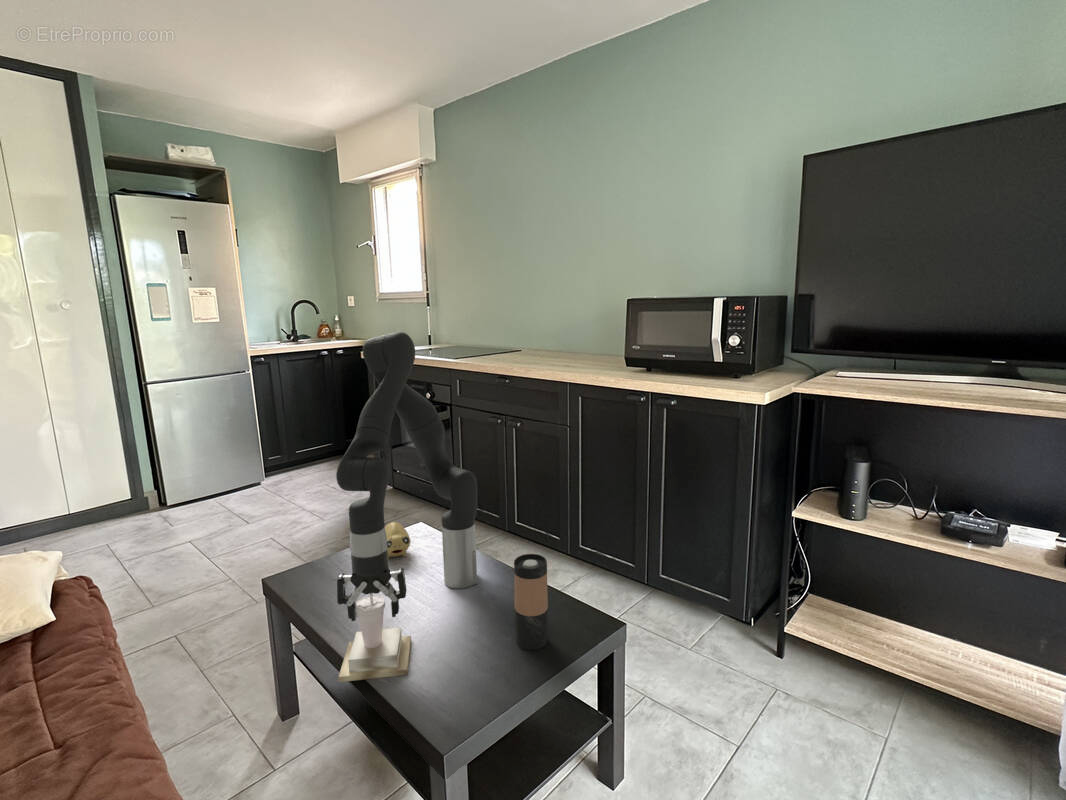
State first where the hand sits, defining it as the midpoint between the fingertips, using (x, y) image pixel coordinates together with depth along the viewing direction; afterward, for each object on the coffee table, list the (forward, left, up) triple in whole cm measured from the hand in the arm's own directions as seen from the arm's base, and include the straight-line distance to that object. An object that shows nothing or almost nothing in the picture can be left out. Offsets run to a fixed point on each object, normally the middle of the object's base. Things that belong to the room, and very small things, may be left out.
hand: (374, 617), depth 117 cm
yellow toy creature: (+1, -51, -11) cm, 52 cm away
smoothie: (+1, 0, -6) cm, 7 cm away
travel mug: (-35, -1, -11) cm, 37 cm away
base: (0, 0, -10) cm, 11 cm away
